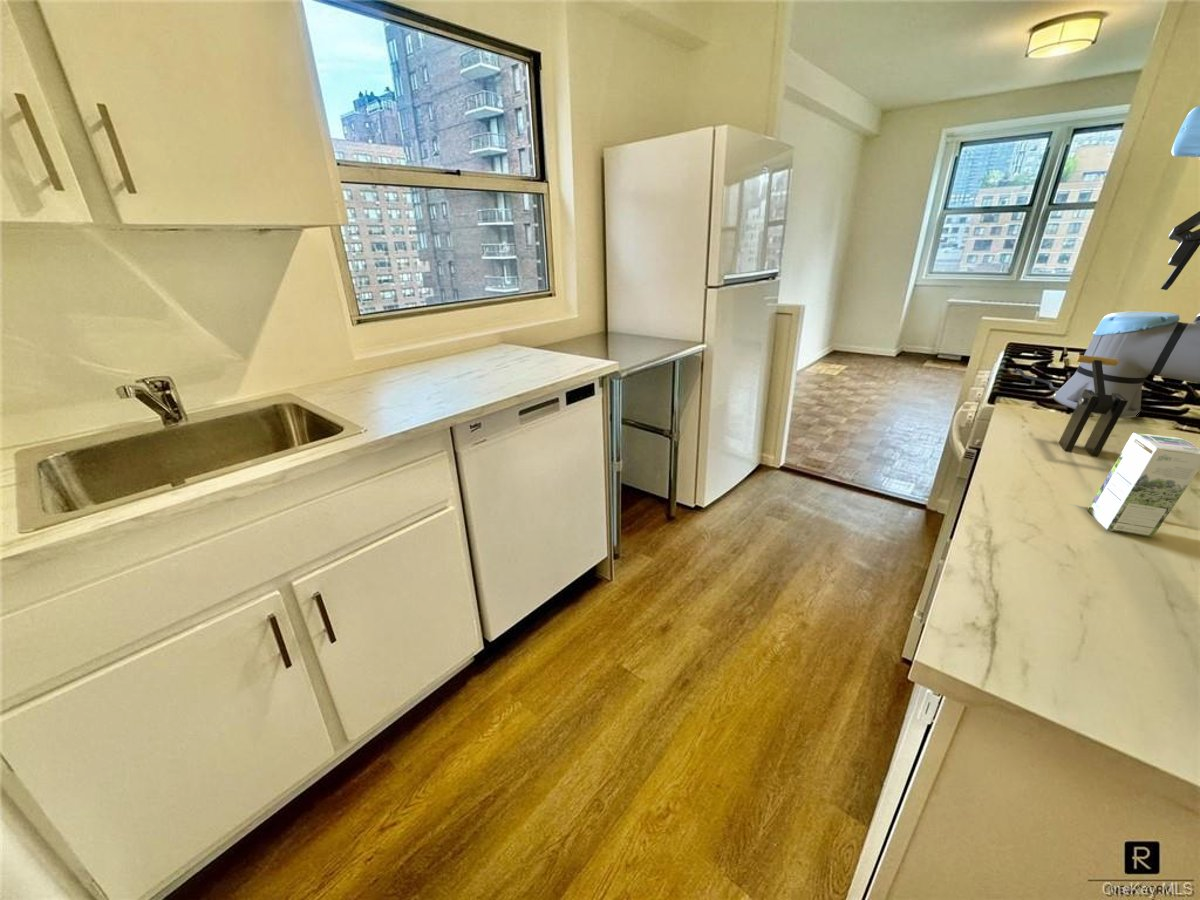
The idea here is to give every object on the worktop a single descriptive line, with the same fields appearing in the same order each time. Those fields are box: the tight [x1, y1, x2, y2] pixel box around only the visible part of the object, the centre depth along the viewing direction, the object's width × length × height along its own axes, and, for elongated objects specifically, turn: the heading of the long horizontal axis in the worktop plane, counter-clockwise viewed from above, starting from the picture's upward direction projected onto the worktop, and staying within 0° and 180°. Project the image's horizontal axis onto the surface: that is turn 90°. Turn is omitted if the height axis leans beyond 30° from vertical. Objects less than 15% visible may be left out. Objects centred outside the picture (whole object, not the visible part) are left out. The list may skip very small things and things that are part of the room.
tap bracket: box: [1058, 389, 1128, 458], centre depth 93 cm, size 10×9×13 cm
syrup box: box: [1087, 432, 1200, 538], centre depth 72 cm, size 6×6×14 cm
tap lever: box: [1074, 354, 1119, 414], centre depth 94 cm, size 14×6×2 cm
